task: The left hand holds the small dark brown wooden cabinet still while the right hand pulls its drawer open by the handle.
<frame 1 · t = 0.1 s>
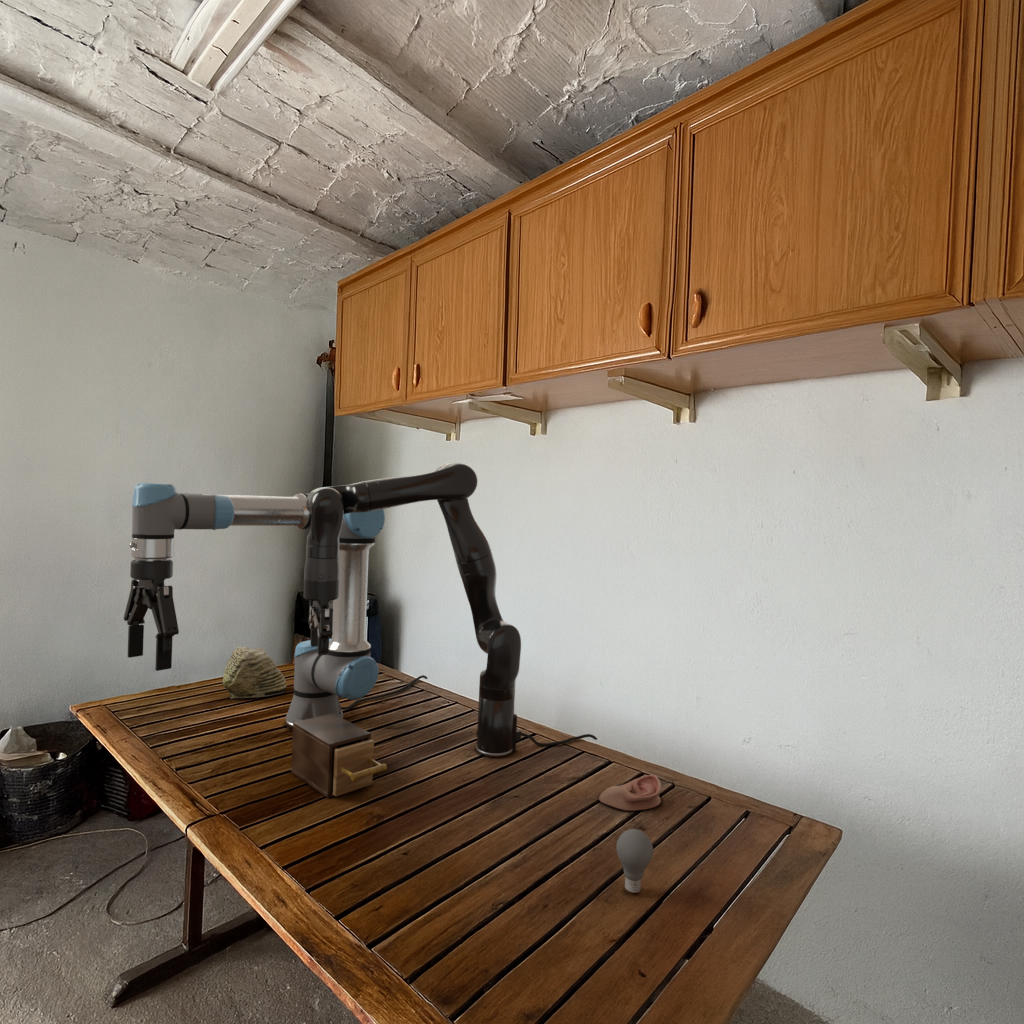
left hand: (148, 662, 129), 28 cm above the table, tool pointing down, fingers open, 13 cm apart
right hand: (319, 650, 141), 29 cm above the table, tool pointing down, fingers open, 8 cm apart
drawer: (343, 760, 139), point 6 cm above the table, slide at 1.0 cm
light bulb: (632, 891, 106), on the table
anatomical model: (630, 799, 139), on the table
cabinet: (329, 777, 143), on the table
fossil: (254, 694, 198), on the table
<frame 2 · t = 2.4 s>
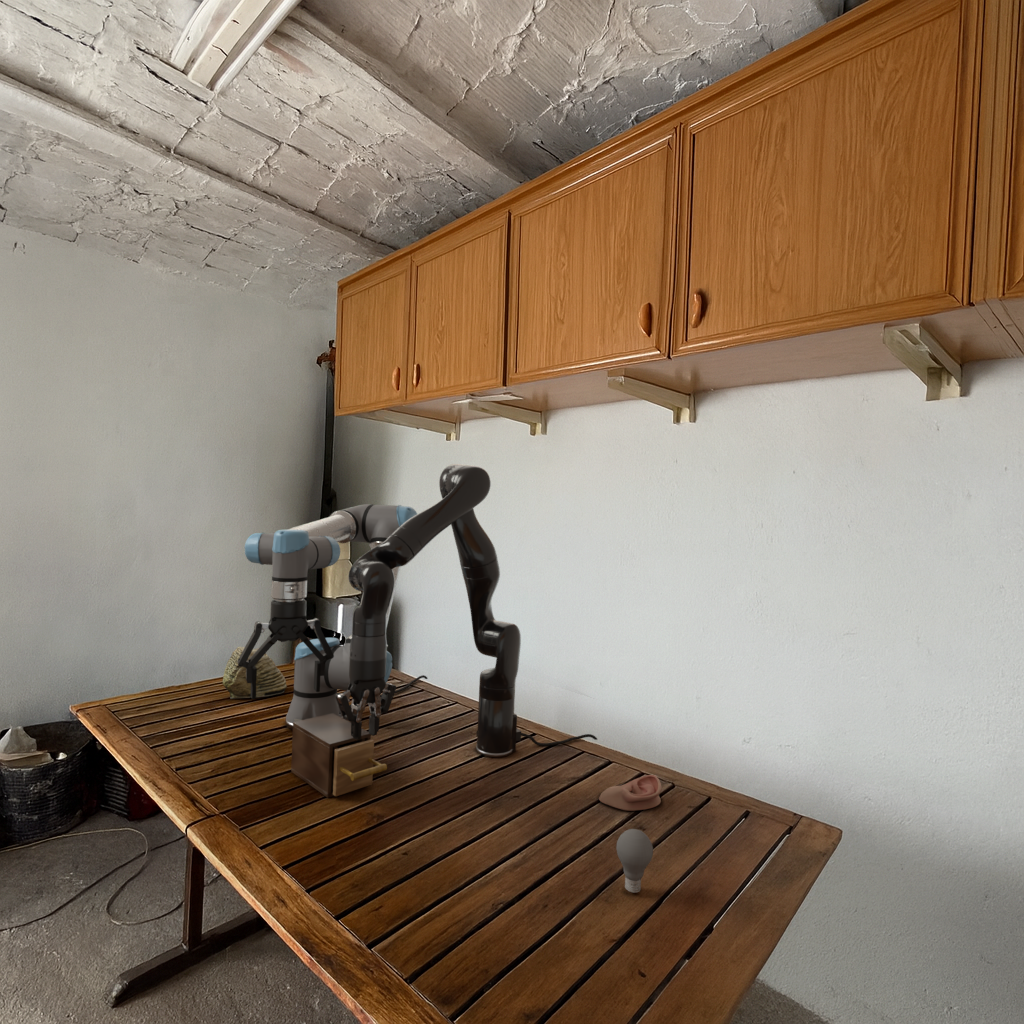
left hand: (285, 693, 142), 19 cm above the table, tool pointing down, fingers open, 13 cm apart
right hand: (365, 736, 133), 14 cm above the table, tool pointing down, fingers open, 3 cm apart
nothing on the table moved.
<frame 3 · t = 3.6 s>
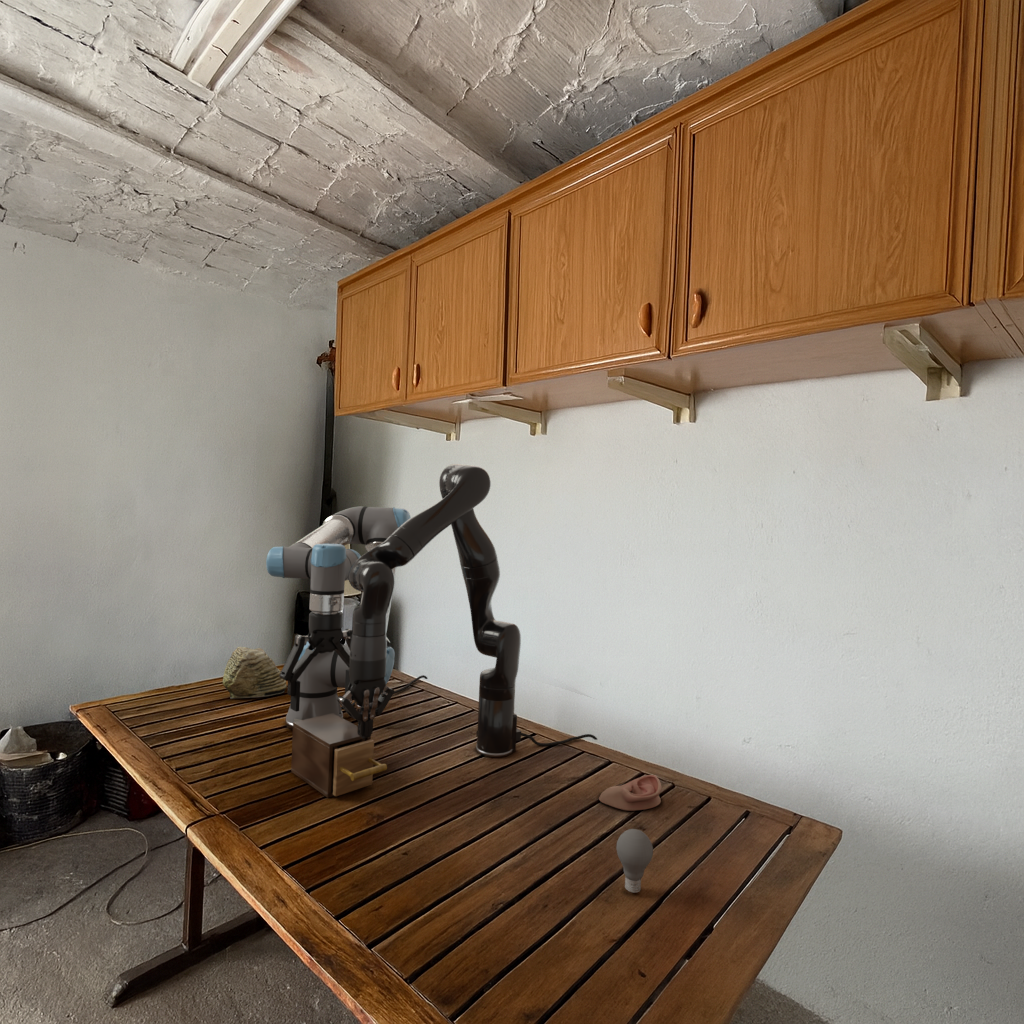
left hand: (322, 703, 145), 16 cm above the table, tool pointing down, fingers open, 13 cm apart
right hand: (365, 736, 133), 13 cm above the table, tool pointing down, fingers closed
nothing on the table moved.
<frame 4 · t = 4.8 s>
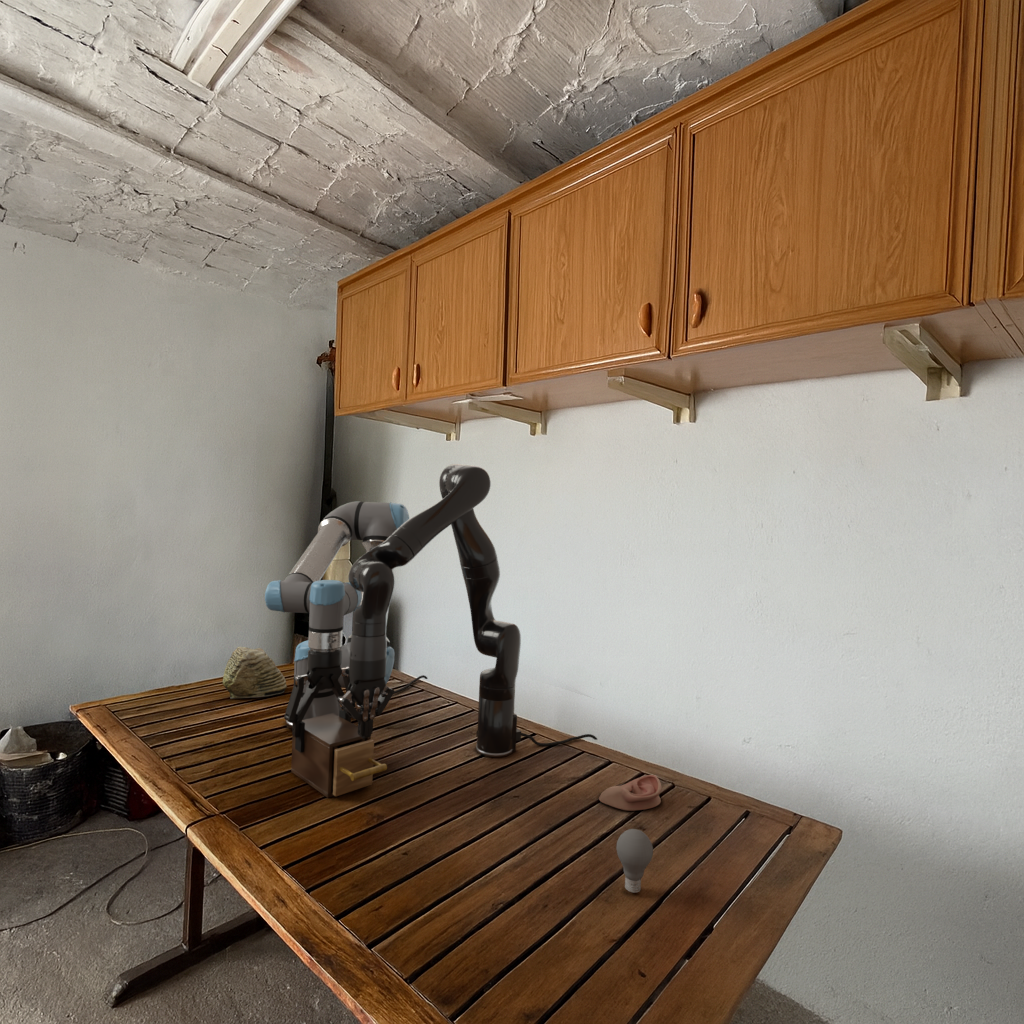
left hand: (321, 744, 146), 6 cm above the table, tool pointing down, fingers closed on cabinet, 10 cm apart
right hand: (365, 736, 133), 13 cm above the table, tool pointing down, fingers closed
cabinet: (329, 777, 143), on the table, touching left hand
everything else where it was.
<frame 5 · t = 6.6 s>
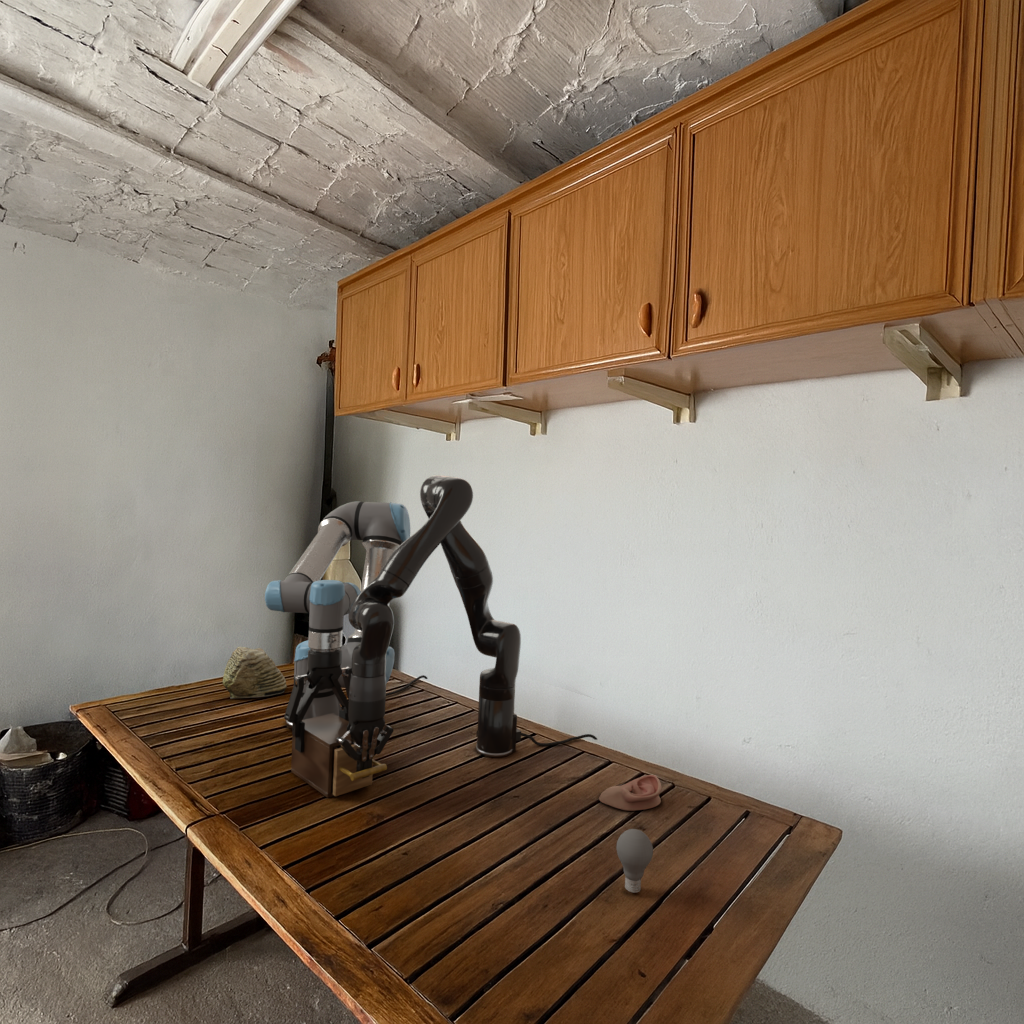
left hand: (321, 744, 146), 6 cm above the table, tool pointing down, fingers closed on cabinet, 10 cm apart
right hand: (363, 776, 133), 5 cm above the table, tool pointing down, fingers closed
drawer: (343, 760, 139), point 6 cm above the table, slide at 1.0 cm, touching right hand
cabinet: (329, 777, 143), on the table, touching left hand
everything else where it was.
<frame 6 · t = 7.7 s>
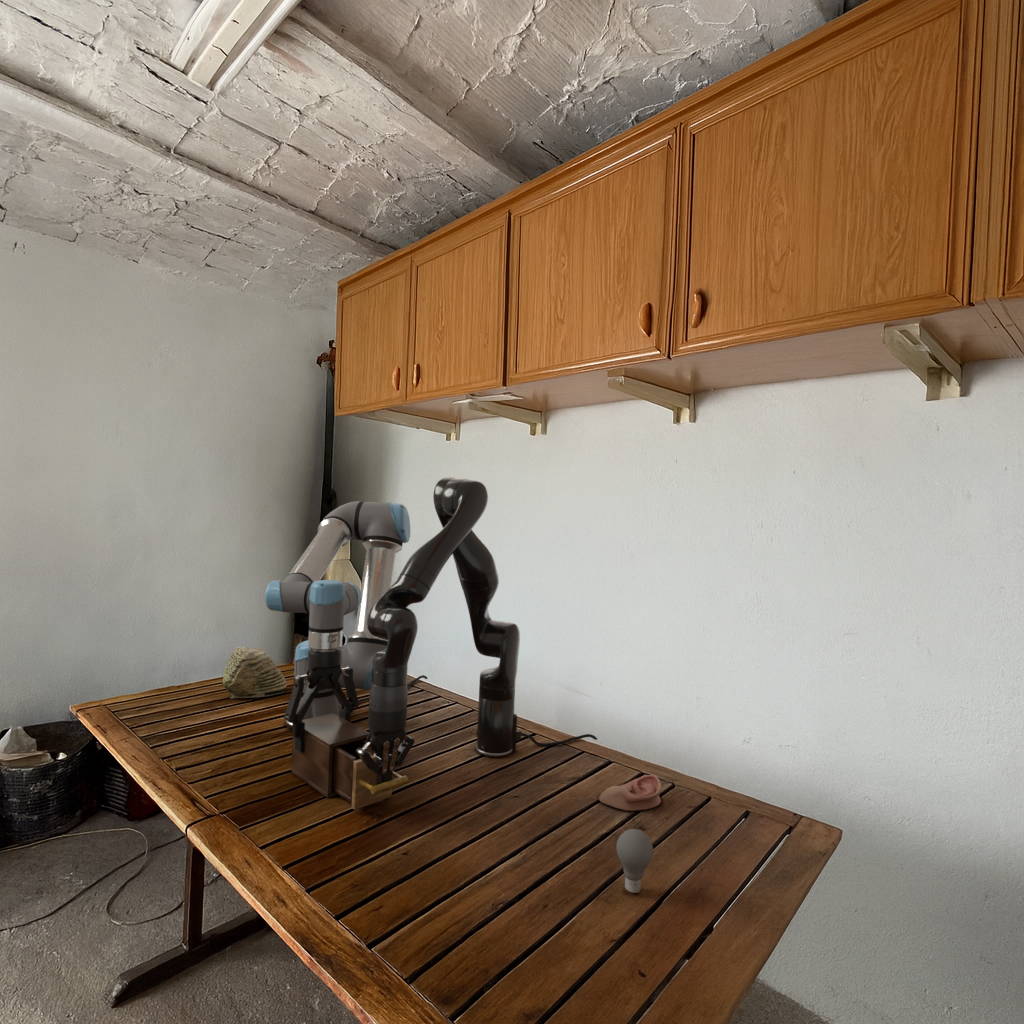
left hand: (321, 744, 146), 6 cm above the table, tool pointing down, fingers closed on cabinet, 10 cm apart
right hand: (384, 789, 128), 5 cm above the table, tool pointing down, fingers closed
drawer: (361, 772, 133), point 6 cm above the table, slide at 8.5 cm, touching right hand
cabinet: (329, 777, 143), on the table, touching left hand
everything else where it was.
when the left hand's fingers open (6 cm above the table, at t = 9.4 s): cabinet stays where it is, on the table.
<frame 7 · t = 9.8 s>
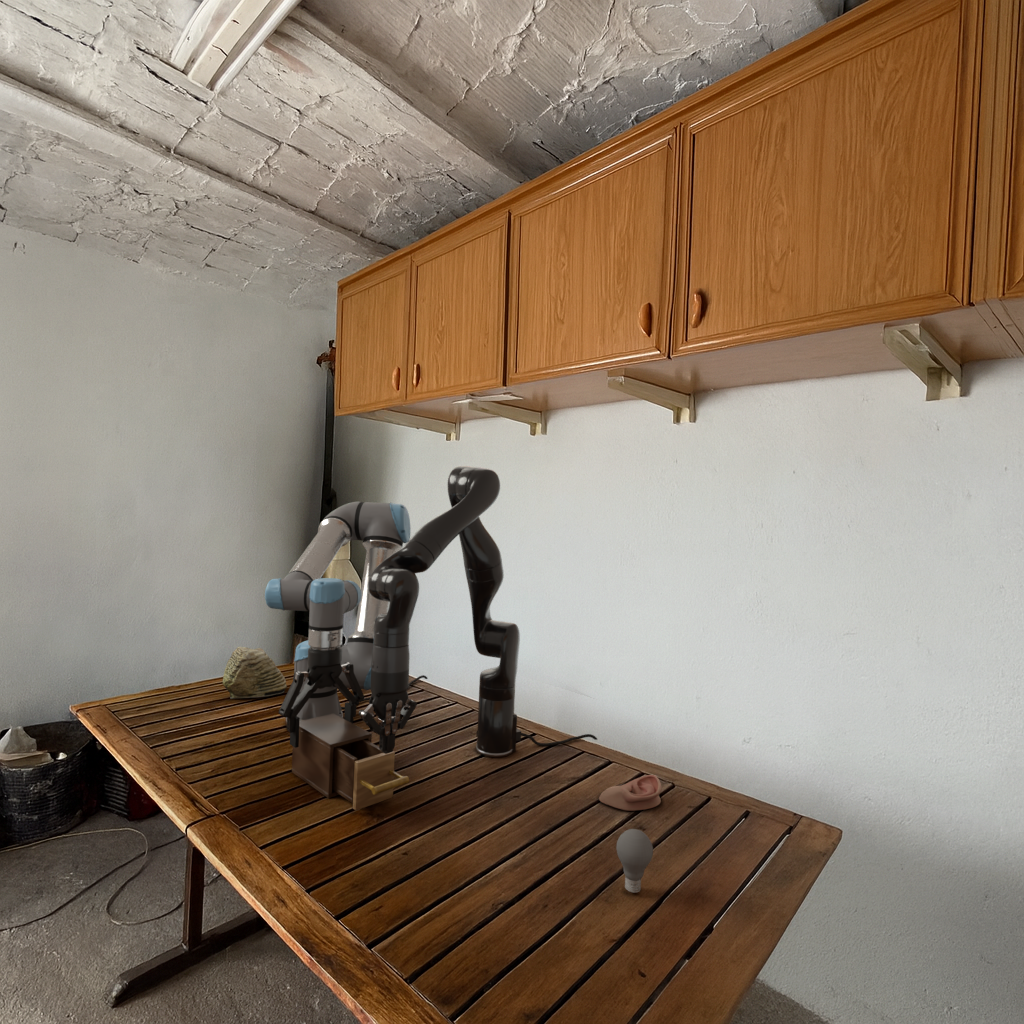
left hand: (322, 738, 146), 8 cm above the table, tool pointing down, fingers open, 13 cm apart
right hand: (386, 751, 127), 13 cm above the table, tool pointing down, fingers closed
drawer: (363, 772, 133), point 6 cm above the table, slide at 8.5 cm
cabinet: (330, 778, 143), on the table
everything else where it was.
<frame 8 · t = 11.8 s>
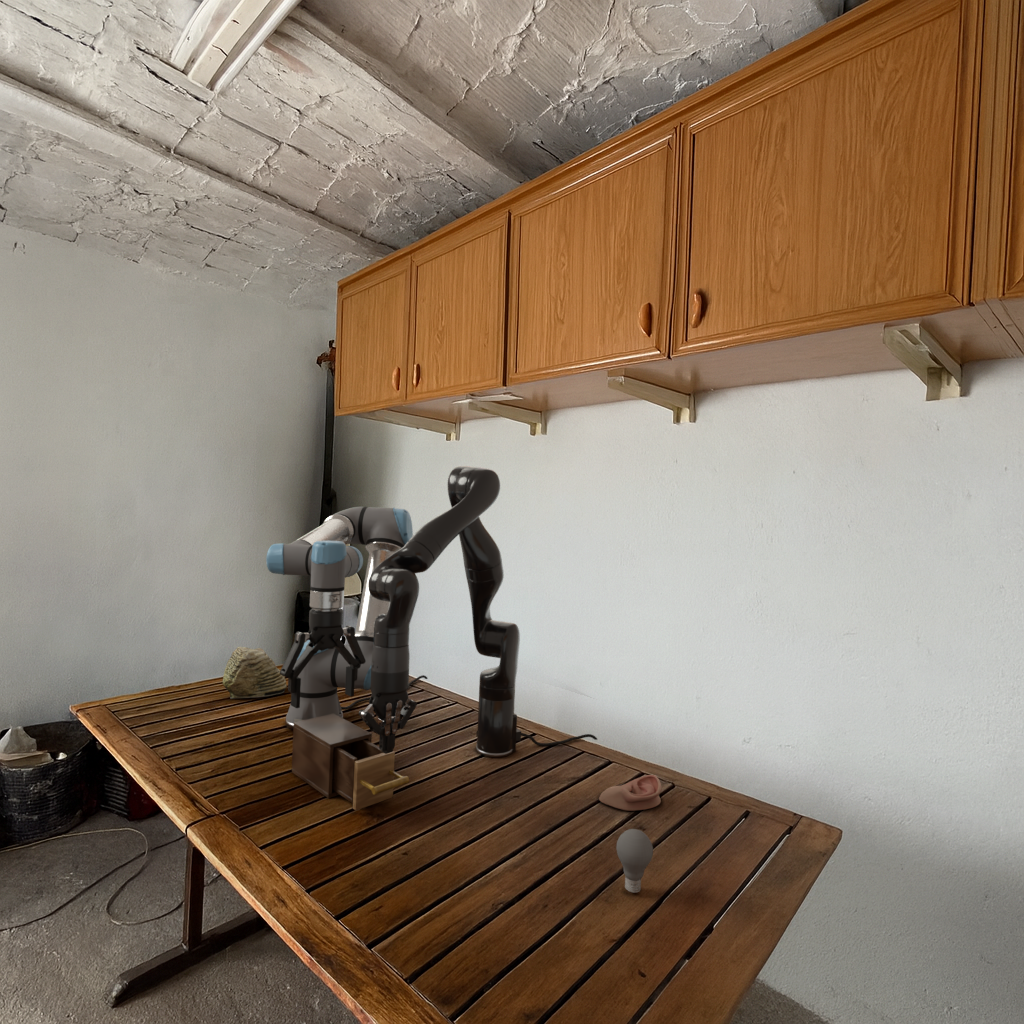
left hand: (323, 700, 145), 16 cm above the table, tool pointing down, fingers open, 13 cm apart
right hand: (386, 751, 127), 13 cm above the table, tool pointing down, fingers closed
nothing on the table moved.
at the end: drawer slide at 8.5 cm; cabinet tilted 0°; cabinet never tilted more than 1° during the clip; cabinet moved 0.3 cm from its start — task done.
